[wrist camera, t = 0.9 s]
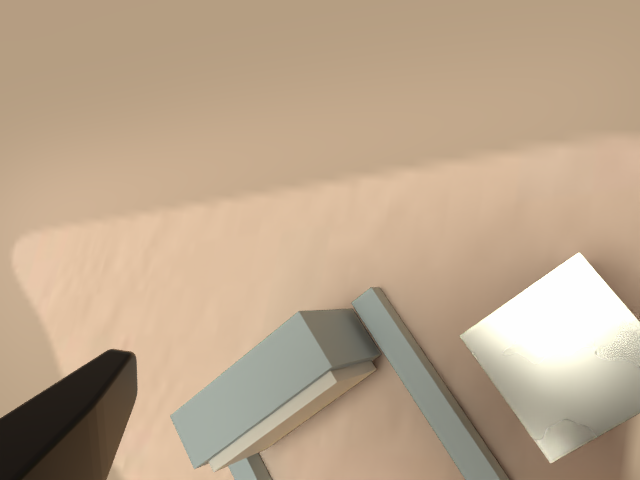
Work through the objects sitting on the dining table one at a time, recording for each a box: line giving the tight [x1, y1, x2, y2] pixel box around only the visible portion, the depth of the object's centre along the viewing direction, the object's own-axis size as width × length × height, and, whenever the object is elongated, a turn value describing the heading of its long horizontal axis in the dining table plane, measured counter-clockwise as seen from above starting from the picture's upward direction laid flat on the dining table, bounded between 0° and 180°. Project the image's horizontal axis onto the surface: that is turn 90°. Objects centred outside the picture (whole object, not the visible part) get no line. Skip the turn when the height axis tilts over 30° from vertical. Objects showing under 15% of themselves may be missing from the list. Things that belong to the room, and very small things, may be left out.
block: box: [460, 253, 640, 464], centre depth 19 cm, size 4×4×6 cm
